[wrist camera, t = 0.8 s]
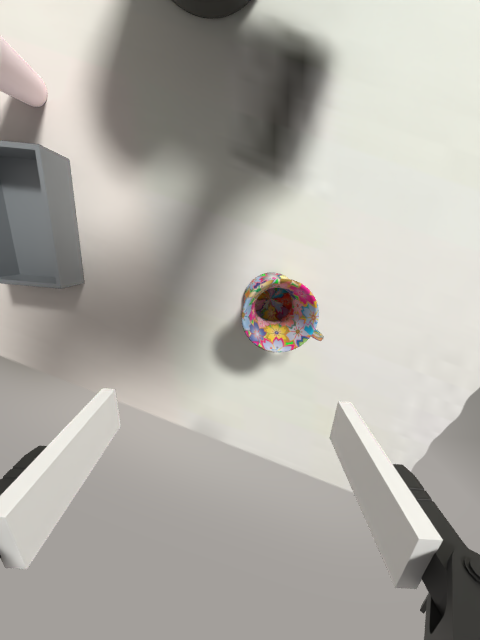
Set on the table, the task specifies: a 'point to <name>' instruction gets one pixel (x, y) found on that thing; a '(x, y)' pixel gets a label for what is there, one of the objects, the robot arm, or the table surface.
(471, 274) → the table surface
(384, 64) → the table surface
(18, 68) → the smoothie
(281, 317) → the mug
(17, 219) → the tray
